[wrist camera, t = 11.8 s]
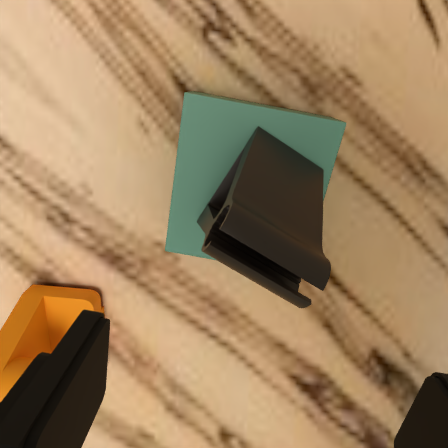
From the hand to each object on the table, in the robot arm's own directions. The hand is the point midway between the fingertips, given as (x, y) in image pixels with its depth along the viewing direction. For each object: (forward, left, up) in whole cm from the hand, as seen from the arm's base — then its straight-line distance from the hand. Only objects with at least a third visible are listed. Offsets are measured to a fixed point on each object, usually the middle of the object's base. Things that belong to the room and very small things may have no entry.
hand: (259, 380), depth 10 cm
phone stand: (-1, 0, -19) cm, 19 cm away
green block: (0, 0, -24) cm, 24 cm away
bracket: (+16, +20, -24) cm, 36 cm away
